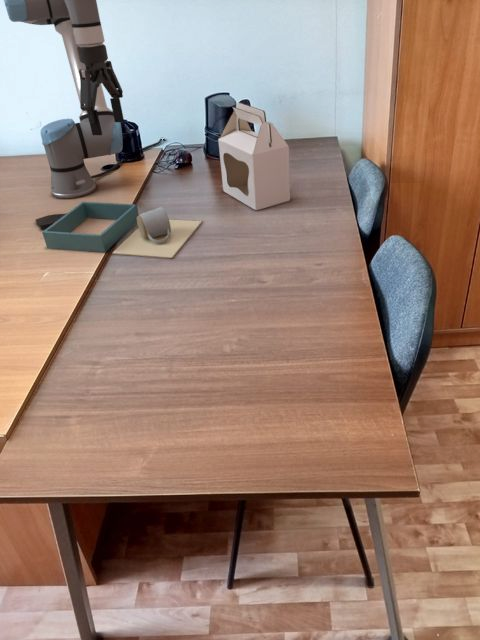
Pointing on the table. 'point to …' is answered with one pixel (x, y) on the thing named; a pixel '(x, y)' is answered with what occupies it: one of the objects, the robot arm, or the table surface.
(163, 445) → the table surface
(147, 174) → the table surface
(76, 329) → the table surface
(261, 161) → the gable box
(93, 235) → the teal rectangular frame
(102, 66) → the robot arm
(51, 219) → the dark sector wedge
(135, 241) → the mat
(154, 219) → the ceramic mug
